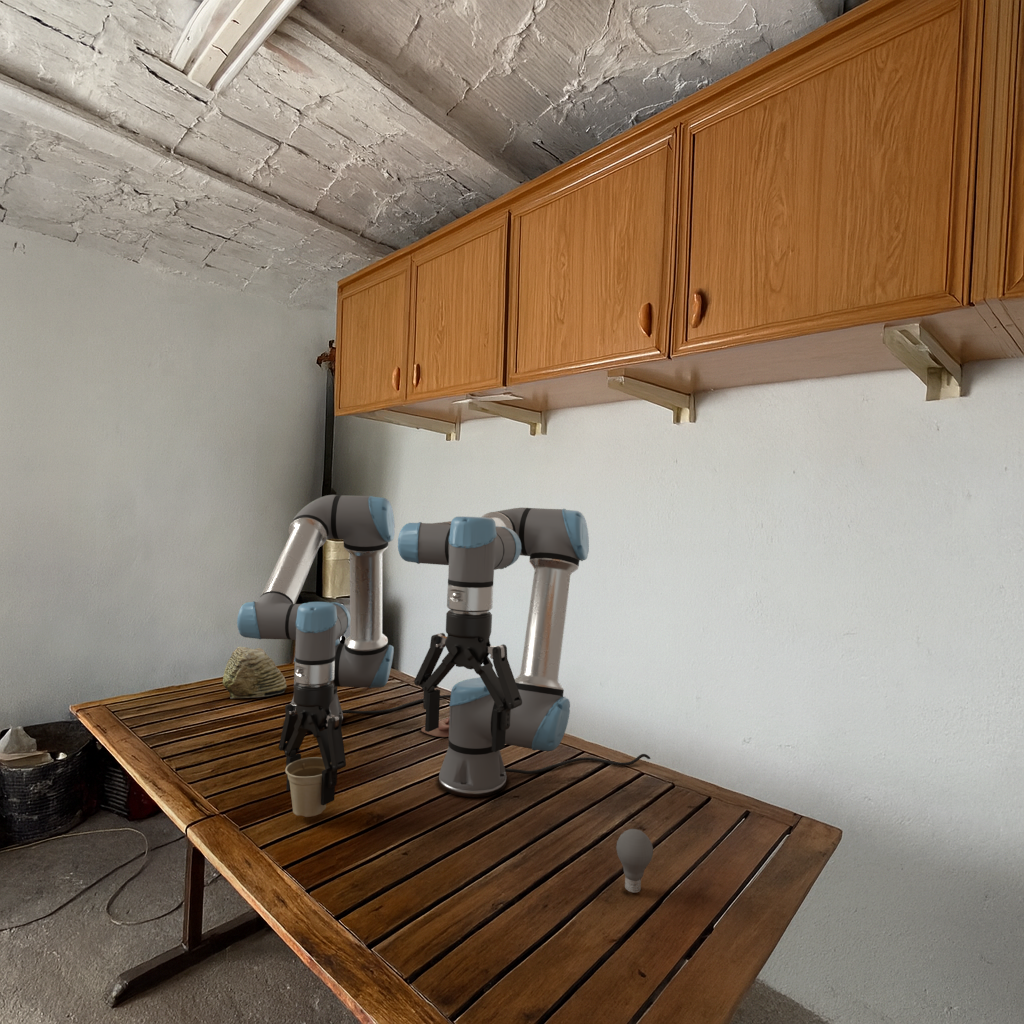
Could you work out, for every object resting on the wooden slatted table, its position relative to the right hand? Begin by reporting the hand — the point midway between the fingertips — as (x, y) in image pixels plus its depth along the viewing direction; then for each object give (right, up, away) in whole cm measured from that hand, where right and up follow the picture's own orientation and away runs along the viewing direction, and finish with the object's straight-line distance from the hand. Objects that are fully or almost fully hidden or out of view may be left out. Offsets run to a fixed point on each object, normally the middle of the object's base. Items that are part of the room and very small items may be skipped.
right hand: (463, 738), depth 104 cm
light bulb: (+28, -26, +1) cm, 38 cm away
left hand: (-32, -18, +21) cm, 42 cm away
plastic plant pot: (-32, -21, +21) cm, 44 cm away
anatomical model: (-10, -23, +71) cm, 75 cm away
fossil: (-73, -20, +94) cm, 120 cm away
